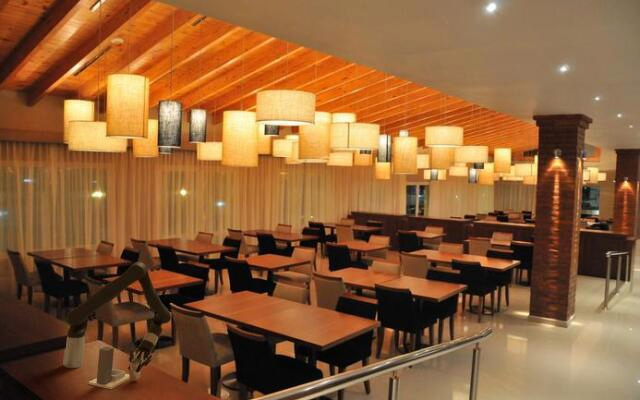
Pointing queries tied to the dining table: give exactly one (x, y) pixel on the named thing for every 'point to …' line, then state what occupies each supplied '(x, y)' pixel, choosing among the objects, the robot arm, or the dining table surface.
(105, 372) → the grey pillar stand
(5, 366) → the dining table surface
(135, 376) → the rail end
